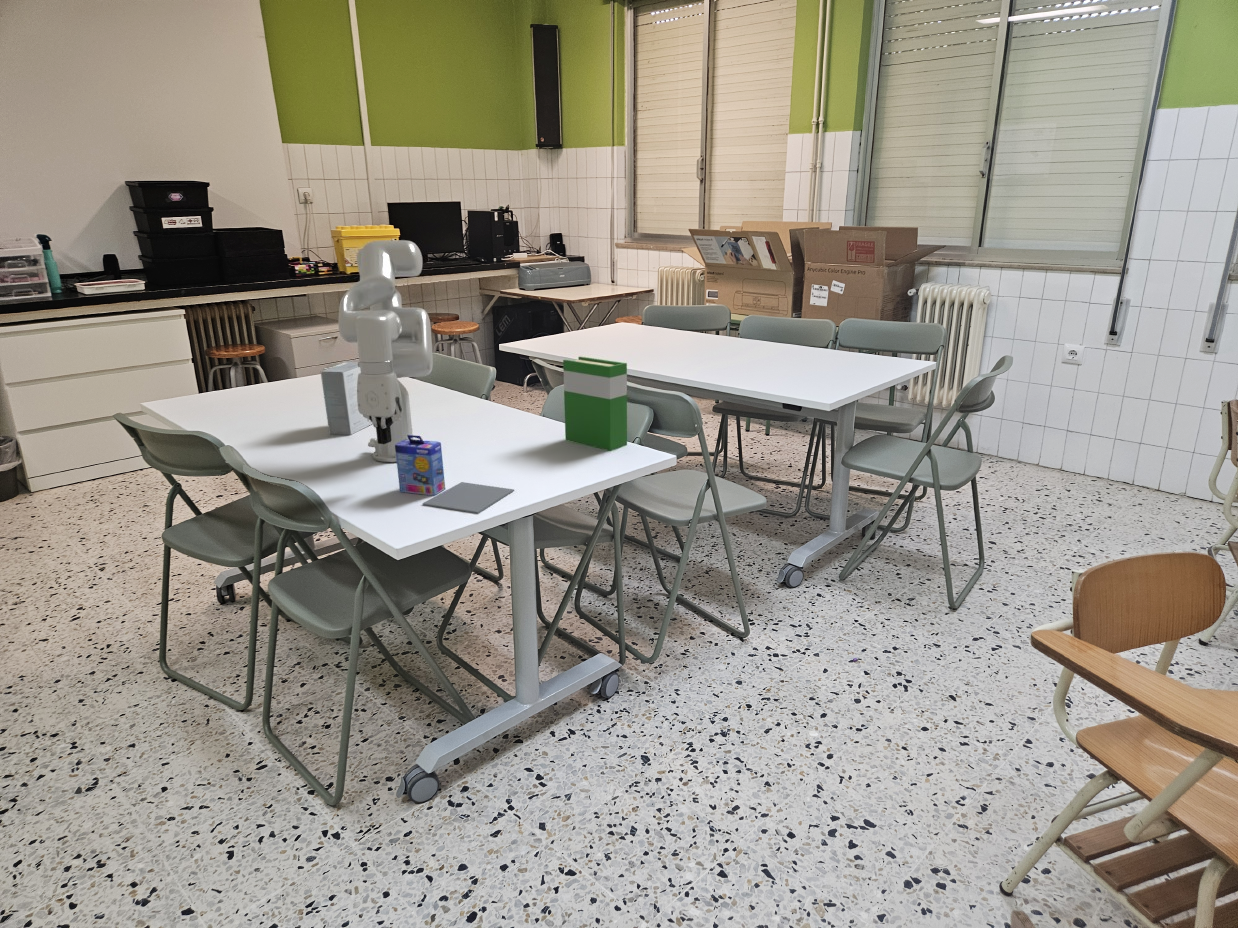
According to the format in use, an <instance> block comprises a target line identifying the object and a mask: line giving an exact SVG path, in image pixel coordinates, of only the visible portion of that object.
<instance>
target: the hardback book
mask: <svg viewBox="0 0 1238 928" xmlns="http://www.w3.org/2000/svg"><path fill="white" fill-rule="evenodd" d="M562 363H563V364H562V366H563V367H562V368H563V397H564V399H563V400H564V402H563V405H564V427H565V429H564V430H565V439H564V440H565V441H567V442H572V443H576V444H579V445H580V444H581V445H585V446H589V447H593V448H597V449H601V450H604V451H610V452H611V451H615V450H617V449H620V448H623V447H626V446H628V363H627V362H621V361H614V360H608V359H602V358H601V359H600V358H592V357H586V356H578V359H576V360H570V359H563V360H562Z"/></svg>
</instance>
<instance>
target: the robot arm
mask: <svg viewBox="0 0 1238 928" xmlns="http://www.w3.org/2000/svg"><path fill="white" fill-rule="evenodd" d="M356 264H357V268H358V269H357V271H358V274H359V280H358V281H357V282H356V283H355V284H354V285H353V286H351V287H350V288H349V289H348V290H347V291H346V292H345V293H344V294H343V295H342V298H341V300H340V301H339V302H340V303H339V307H338V308H339V309H338V320H337V321H338V332H339V334H340V337H341V339H342V340H343V341H345V342H347V343H351V344H353V343H354V344H355V343H356V344H357V351H358V352H357V353H358V359H359V361H357V362H358V364H357V365H358V367H360V371H361V373H359V374H358V380H357V402H358V410H359V413H360V414H362V415H363V417H365V418H367V419H370V420H371V422H372V423H373V424H372V426H373V427H374V429H375V432H376V437H375V438H374V437H372V438H370V439H369V441H368V442H367V447H370V448H374V449H375V451H374V452H373V453H372V458H373V459H374V460H375V461H378V462H383V463H397V460H396V451H395V444H397V443H399V442H401V441H403V440H405V439H408V436H407V435H414V434H413V424H412V415H411V413H412V412H411V404H410V394H409V391H408V390H407V388H406V387H405V385H403V383H402V382H401V381H400V380H399V379H402V378H416V377H417V378H418V377H420V378H421V377H425V376H429V375H430V374H431V373H432V371H433V366H434V357H433V355H434V353H433V343H432V327H431V320H430V317H429V314H428V313H427V311H426V310H425V309H424V308H421V307H403V305H402V295H401V293H400V292H399V290H397V288H396V278H397V277H400V278H401V277H418V276H420V274H421V273H422V270H423V256H422V252H421V250H420V248H419V247H418V245H417V244H416V243H415V242H413V241H411V240H405V239H401V240H399V239H398V240H397V239H396V240H395V239H394V240H392V239H391V240H386V239H385V240H372V241H369V242H367V243H366V244H365V245H363V247H362V248H360V249H359V250H358V251H357V254H356ZM365 308H369V310H363V309H365ZM411 439H414V438H411Z"/></svg>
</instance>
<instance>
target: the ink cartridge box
mask: <svg viewBox="0 0 1238 928" xmlns="http://www.w3.org/2000/svg"><path fill="white" fill-rule="evenodd" d="M407 436H408V439H405V440H403V441H401V442H399V443H397V444H395V451H396V460H397V462H396V468H397V477H398V486H399V492H400V493H406V494H416V495H417V494H418V495H423V496H424V495H425V496H430V497H432V496H433V497H435V496H437V495H439V494H441V493H442V492H444V491H445V490H446V483H445V472H444V471H445V470H444V462H443V451H442V443H441V442H439V441H437V440H436V441H433V440H423V437H422V436H420V435H414V434H413V435H407ZM411 438H413V439H411ZM414 438H415V439H414Z"/></svg>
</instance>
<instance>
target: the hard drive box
mask: <svg viewBox="0 0 1238 928" xmlns="http://www.w3.org/2000/svg"><path fill="white" fill-rule="evenodd" d="M358 362H359V361H346V362H345V361H344V362H343V363H340V364H337V365H335V366H332V367H329V368H327V369H324V370H321V371H320V377H321V387H322V391H323V399H324V405H325V406H324V407H325V413H326V420H327V427H328V433H329V435H339V436H341V435H342V436H351V435H353V434H355V433H358V432H360V431H361V430H363V429H365V428H367V427H369V425H370V426H371V425H373V423H372V422H371V420H370V419H367V418H365V417H363V415H362V414H360V413H359V410H358V402H357V380H358V374H359V373H361V371H360V367H358V365H357V364H358Z"/></svg>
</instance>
